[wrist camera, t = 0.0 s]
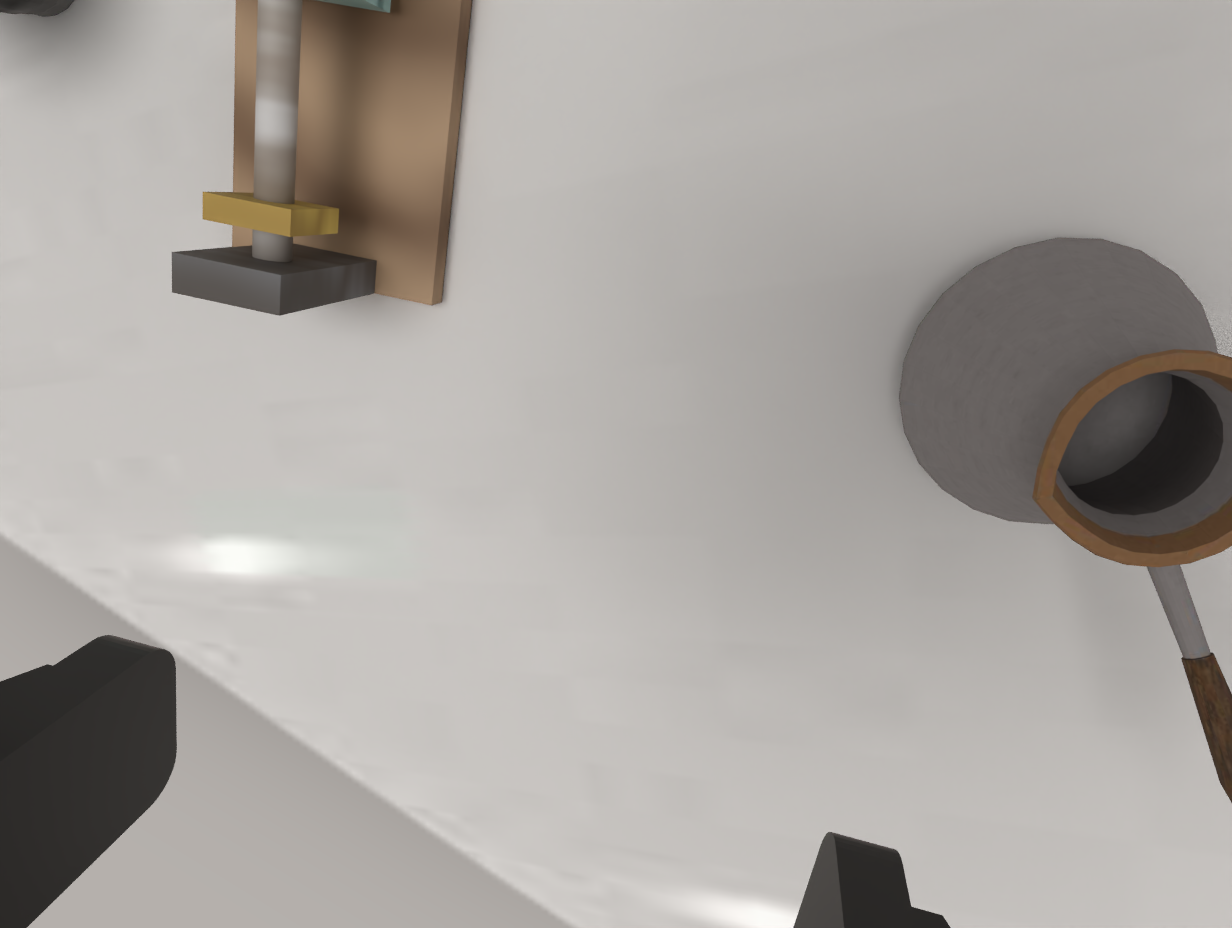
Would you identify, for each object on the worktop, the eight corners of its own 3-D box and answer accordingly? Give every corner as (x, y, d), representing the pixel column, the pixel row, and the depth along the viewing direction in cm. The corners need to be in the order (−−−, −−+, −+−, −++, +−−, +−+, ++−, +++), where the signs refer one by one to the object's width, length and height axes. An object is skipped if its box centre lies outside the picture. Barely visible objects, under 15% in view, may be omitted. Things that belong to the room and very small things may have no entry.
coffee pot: (856, 293, 35) (915, 354, 21) (1147, 189, 32) (1445, 180, 18) (984, 707, 40) (1101, 983, 26) (1247, 652, 37) (1544, 931, 23)
